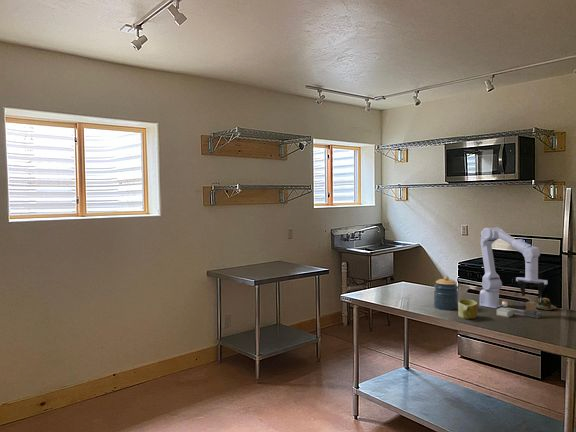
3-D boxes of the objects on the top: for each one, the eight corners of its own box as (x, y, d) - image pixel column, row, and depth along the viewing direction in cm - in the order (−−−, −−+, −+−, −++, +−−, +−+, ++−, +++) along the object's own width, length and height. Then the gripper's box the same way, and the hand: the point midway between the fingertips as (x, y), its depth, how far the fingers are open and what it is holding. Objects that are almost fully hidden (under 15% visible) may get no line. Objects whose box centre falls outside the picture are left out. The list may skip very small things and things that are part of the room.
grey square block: (496, 315, 237) (496, 309, 237) (501, 313, 241) (501, 307, 241) (508, 317, 232) (508, 311, 232) (512, 315, 236) (513, 309, 236)
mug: (459, 309, 242) (463, 293, 238) (477, 318, 236) (483, 302, 232) (449, 318, 233) (454, 301, 229) (468, 327, 227) (474, 311, 223)
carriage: (523, 315, 234) (523, 302, 234) (528, 313, 238) (528, 300, 238) (534, 317, 231) (534, 304, 230) (538, 315, 235) (538, 302, 234)
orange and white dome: (501, 305, 236) (501, 301, 236) (503, 304, 238) (503, 300, 238) (506, 306, 235) (506, 301, 234) (508, 305, 236) (508, 301, 236)
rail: (501, 311, 243) (501, 307, 243) (505, 310, 247) (505, 305, 246) (537, 318, 230) (537, 313, 230) (541, 316, 233) (541, 311, 233)
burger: (527, 307, 254) (527, 294, 253) (542, 305, 258) (543, 292, 257) (546, 312, 242) (546, 298, 242) (562, 310, 247) (562, 296, 246)
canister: (460, 310, 246) (460, 278, 245) (435, 309, 248) (435, 277, 248) (456, 305, 259) (456, 274, 258) (432, 304, 261) (432, 273, 260)
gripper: (513, 269, 236) (513, 295, 237) (544, 272, 226) (544, 299, 226) (519, 268, 241) (518, 293, 242) (549, 271, 230) (549, 297, 231)
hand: (531, 296), depth 234 cm, fingers open, 7 cm apart
